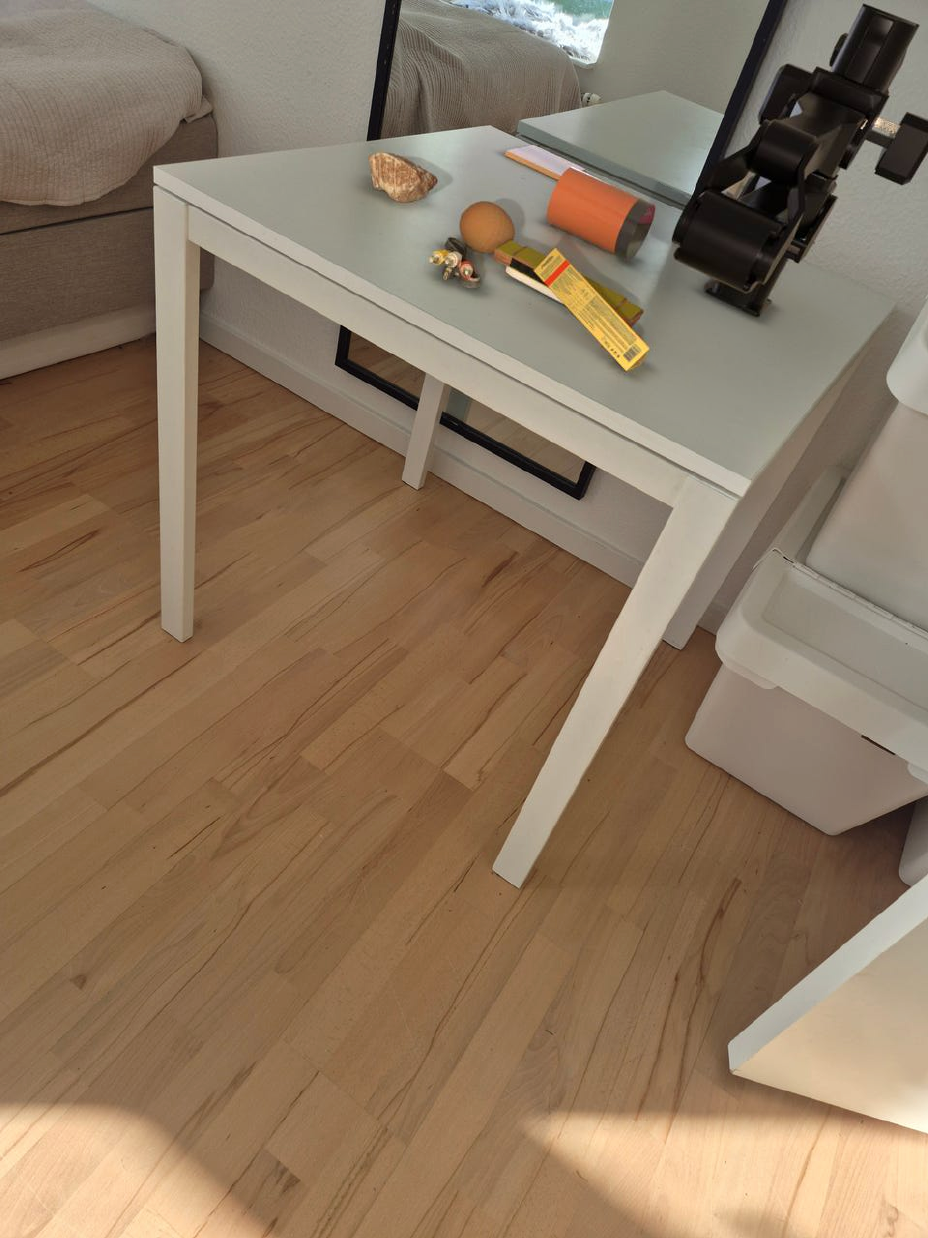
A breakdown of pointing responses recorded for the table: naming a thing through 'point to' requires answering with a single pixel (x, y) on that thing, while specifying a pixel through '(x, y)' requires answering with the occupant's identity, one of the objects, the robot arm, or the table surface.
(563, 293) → the chocolate bar
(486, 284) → the table surface
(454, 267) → the composite cable
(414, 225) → the table surface
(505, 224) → the egg
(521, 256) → the olive brown bar
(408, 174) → the stone
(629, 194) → the jar
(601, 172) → the table surface
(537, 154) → the coaster
